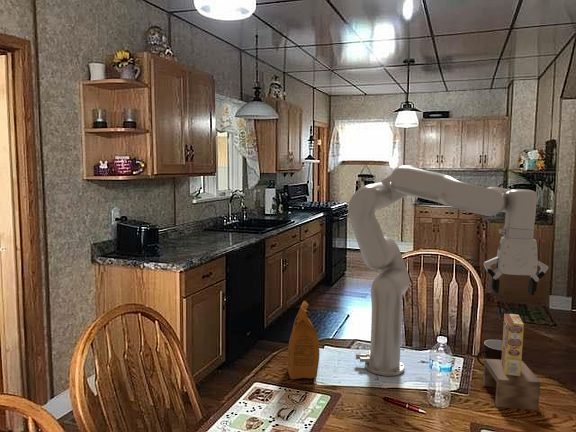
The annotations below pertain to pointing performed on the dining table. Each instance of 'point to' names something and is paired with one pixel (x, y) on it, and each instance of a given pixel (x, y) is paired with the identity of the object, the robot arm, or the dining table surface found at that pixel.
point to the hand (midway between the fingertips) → (513, 292)
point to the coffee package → (303, 347)
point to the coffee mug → (491, 350)
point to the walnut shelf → (512, 386)
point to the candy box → (512, 344)
